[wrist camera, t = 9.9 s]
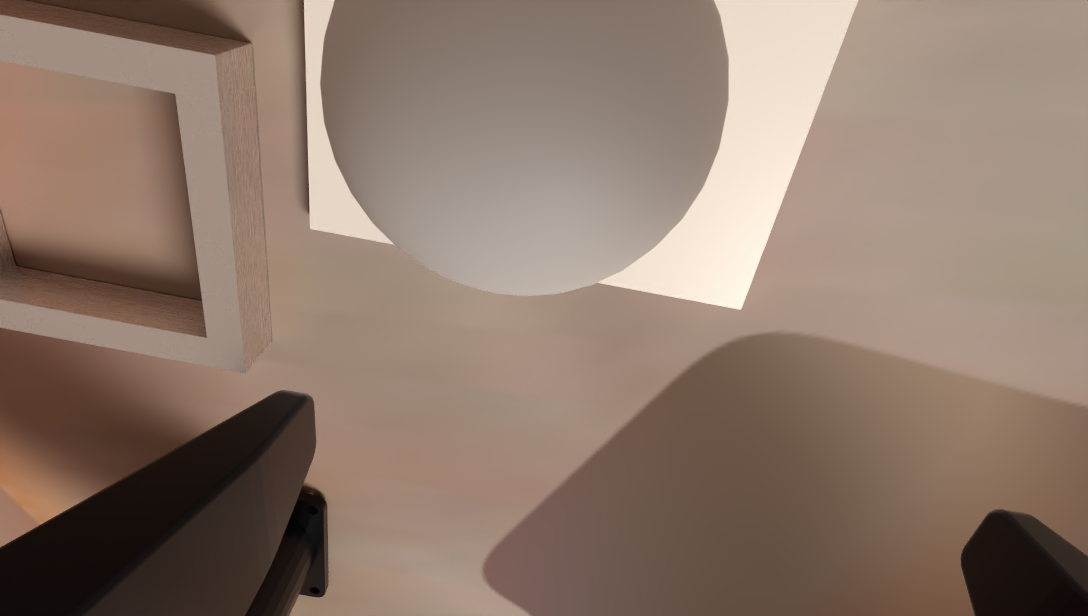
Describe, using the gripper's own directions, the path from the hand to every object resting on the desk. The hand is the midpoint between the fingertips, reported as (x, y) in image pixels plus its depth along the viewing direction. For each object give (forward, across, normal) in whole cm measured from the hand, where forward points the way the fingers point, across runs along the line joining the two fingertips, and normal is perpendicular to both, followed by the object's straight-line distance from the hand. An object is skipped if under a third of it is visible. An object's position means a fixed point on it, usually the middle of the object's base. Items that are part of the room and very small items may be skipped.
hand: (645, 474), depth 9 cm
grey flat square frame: (+13, +16, +3) cm, 21 cm away
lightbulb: (+12, +2, -3) cm, 13 cm away
